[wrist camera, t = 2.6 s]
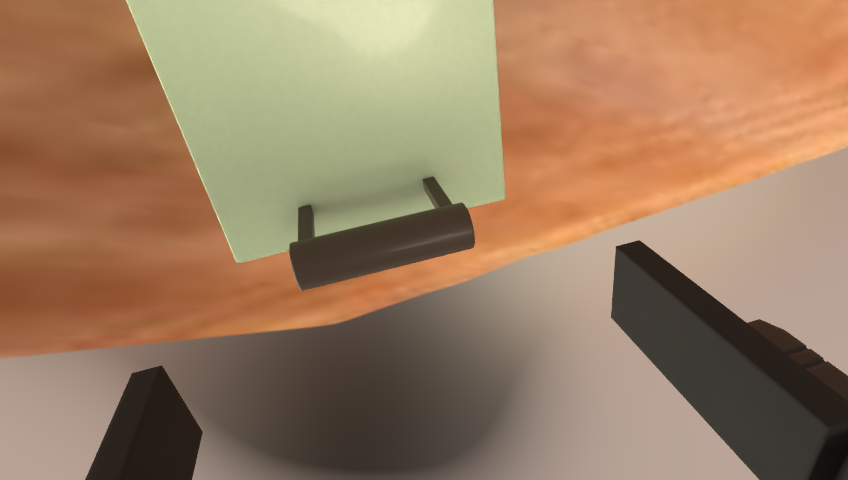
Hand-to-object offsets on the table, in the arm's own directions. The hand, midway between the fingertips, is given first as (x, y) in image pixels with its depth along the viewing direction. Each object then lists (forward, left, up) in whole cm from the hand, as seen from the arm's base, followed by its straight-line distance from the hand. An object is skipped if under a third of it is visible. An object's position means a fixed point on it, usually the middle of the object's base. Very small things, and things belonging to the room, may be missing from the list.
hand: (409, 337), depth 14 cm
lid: (0, +5, -15) cm, 15 cm away
